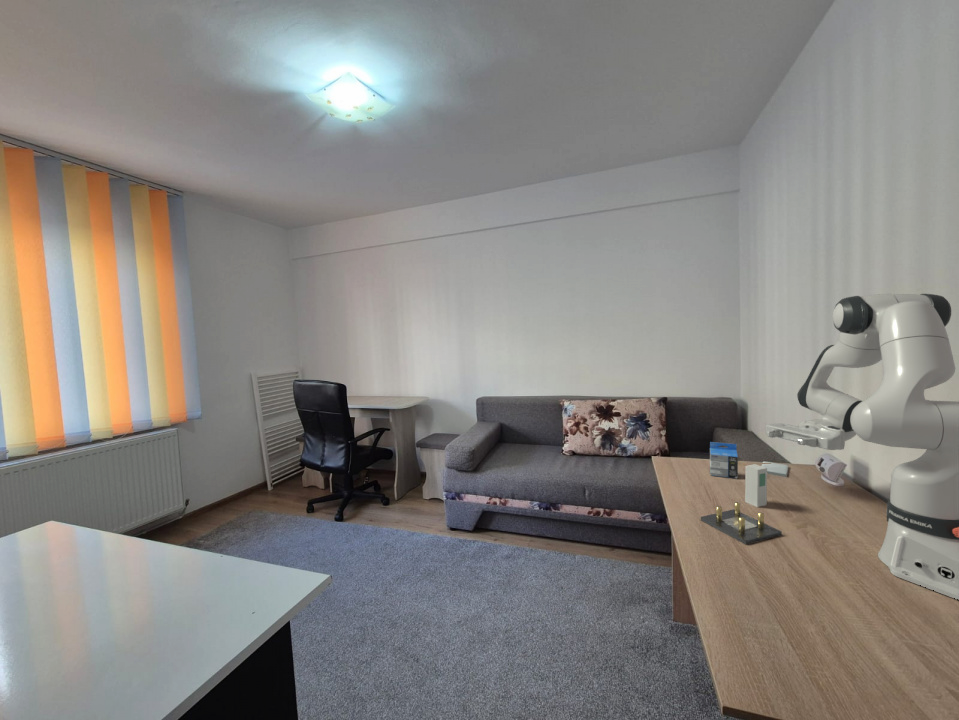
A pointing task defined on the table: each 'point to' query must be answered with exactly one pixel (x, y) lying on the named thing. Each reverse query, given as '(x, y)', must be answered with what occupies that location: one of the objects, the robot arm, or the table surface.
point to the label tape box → (723, 460)
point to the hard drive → (776, 469)
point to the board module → (756, 485)
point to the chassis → (741, 525)
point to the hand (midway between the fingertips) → (784, 438)
